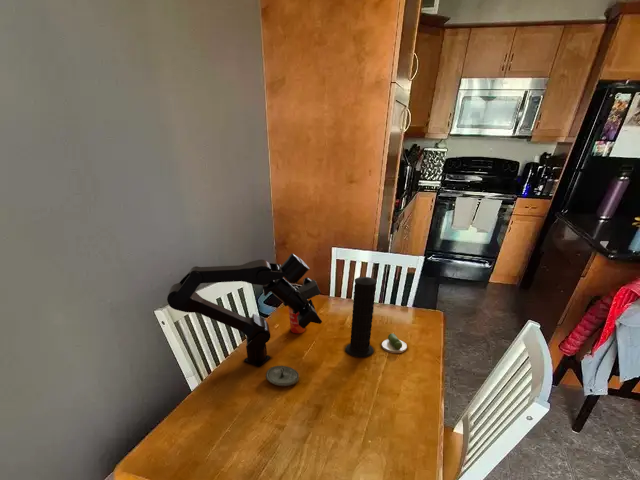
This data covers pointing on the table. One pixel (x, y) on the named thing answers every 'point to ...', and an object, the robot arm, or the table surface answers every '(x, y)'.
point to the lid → (282, 376)
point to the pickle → (394, 344)
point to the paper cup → (295, 322)
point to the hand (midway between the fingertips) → (321, 322)
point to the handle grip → (362, 317)
